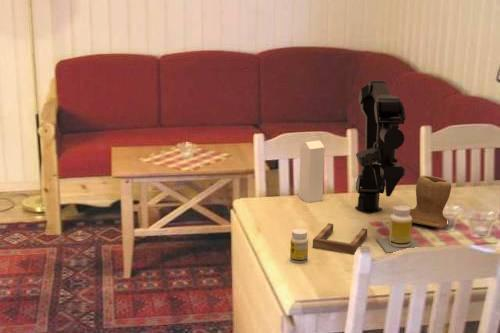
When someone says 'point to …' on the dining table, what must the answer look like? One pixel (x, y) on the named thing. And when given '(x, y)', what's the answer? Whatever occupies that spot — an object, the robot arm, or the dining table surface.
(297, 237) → the supplement bottle
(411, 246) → the coaster
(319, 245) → the open wooden u-frame
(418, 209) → the brown boot
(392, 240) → the pill bottle
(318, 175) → the milk
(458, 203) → the dining table surface
